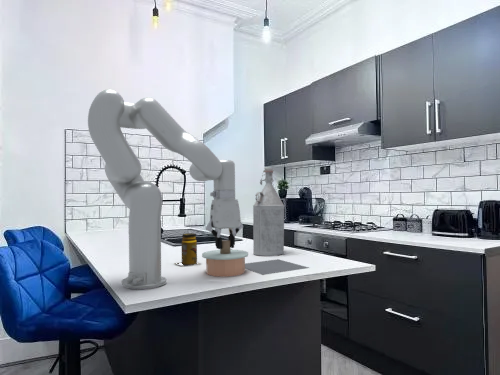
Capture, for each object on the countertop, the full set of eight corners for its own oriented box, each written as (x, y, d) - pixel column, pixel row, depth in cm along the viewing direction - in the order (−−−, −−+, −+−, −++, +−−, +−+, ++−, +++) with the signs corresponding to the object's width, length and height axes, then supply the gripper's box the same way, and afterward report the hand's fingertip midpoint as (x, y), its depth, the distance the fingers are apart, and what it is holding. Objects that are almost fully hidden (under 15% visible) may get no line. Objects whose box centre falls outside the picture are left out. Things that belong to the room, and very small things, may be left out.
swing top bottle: (246, 255, 156) (244, 166, 157) (267, 250, 170) (266, 168, 171) (270, 258, 149) (268, 164, 150) (290, 252, 163) (288, 167, 164)
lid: (241, 260, 113) (241, 244, 113) (195, 259, 117) (194, 243, 117) (252, 252, 129) (252, 237, 129) (211, 251, 132) (210, 237, 132)
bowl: (238, 278, 115) (238, 259, 115) (201, 276, 118) (201, 258, 118) (248, 269, 127) (248, 253, 127) (214, 268, 130) (213, 252, 130)
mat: (262, 275, 117) (262, 274, 117) (235, 265, 135) (235, 264, 135) (309, 268, 127) (309, 267, 127) (278, 260, 145) (278, 259, 145)
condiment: (200, 264, 139) (200, 233, 139) (180, 267, 134) (180, 235, 135) (193, 261, 145) (192, 232, 145) (173, 264, 140) (173, 234, 141)
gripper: (206, 195, 116) (207, 251, 115) (250, 195, 124) (251, 247, 124) (198, 196, 122) (198, 248, 122) (240, 195, 130) (241, 244, 130)
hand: (225, 247), depth 123 cm, fingers open, 4 cm apart
